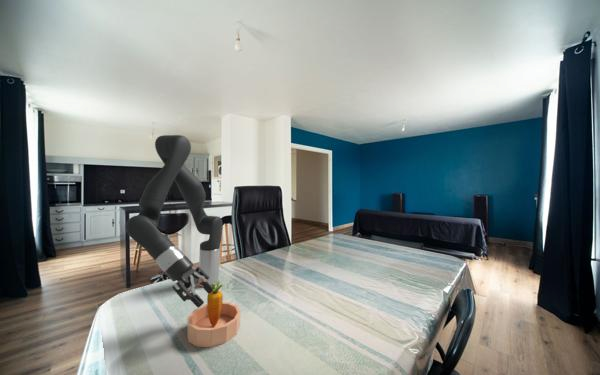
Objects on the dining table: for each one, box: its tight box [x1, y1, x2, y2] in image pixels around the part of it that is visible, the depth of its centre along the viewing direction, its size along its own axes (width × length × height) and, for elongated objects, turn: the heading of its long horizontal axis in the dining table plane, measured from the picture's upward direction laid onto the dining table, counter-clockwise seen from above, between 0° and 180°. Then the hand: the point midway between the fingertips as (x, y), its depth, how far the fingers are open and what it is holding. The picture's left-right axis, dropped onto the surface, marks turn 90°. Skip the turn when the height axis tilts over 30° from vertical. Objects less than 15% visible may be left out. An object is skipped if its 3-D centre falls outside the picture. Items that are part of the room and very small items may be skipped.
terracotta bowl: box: [186, 301, 242, 348], centre depth 72 cm, size 16×16×5 cm
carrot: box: [206, 280, 224, 327], centre depth 72 cm, size 5×5×15 cm
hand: (207, 298), depth 72 cm, fingers open, 8 cm apart
